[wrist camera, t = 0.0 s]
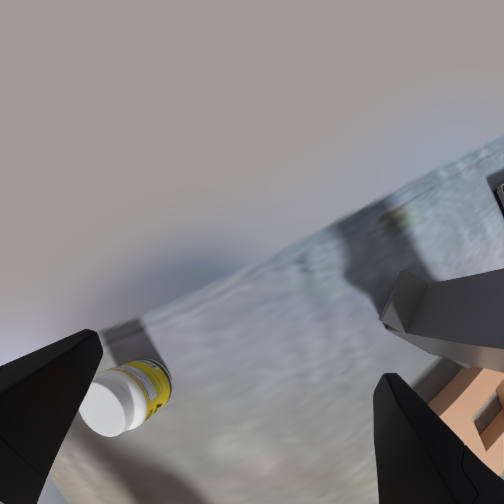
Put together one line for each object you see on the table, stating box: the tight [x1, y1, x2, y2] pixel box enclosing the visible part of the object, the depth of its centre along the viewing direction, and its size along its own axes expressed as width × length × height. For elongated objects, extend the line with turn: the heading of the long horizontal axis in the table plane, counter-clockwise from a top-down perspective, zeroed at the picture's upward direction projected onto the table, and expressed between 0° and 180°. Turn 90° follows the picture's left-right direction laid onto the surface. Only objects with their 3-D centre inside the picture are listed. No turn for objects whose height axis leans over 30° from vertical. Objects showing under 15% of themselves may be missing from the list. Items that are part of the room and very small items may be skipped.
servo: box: [378, 268, 504, 373], centre depth 13 cm, size 10×4×17 cm, turn 60°
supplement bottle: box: [79, 358, 173, 437], centre depth 18 cm, size 5×5×8 cm
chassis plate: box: [427, 365, 504, 476], centre depth 16 cm, size 18×18×3 cm
